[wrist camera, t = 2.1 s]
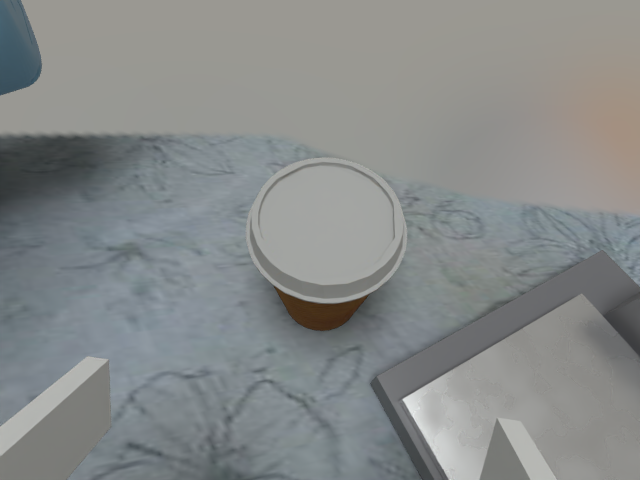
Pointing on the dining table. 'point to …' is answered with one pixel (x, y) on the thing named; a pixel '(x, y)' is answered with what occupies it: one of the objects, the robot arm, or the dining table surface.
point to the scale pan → (540, 399)
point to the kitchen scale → (421, 369)
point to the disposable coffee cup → (326, 238)
